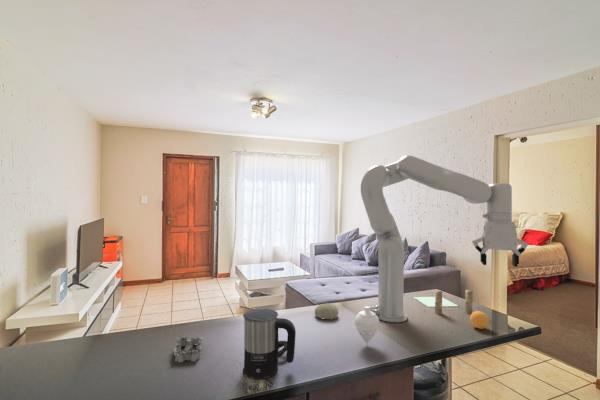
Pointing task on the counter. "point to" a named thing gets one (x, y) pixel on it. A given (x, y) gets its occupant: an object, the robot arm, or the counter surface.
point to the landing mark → (431, 302)
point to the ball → (479, 320)
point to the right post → (468, 301)
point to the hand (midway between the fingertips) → (499, 265)
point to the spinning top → (367, 324)
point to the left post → (438, 302)
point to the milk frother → (265, 342)
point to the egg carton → (187, 349)
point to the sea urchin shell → (326, 311)
